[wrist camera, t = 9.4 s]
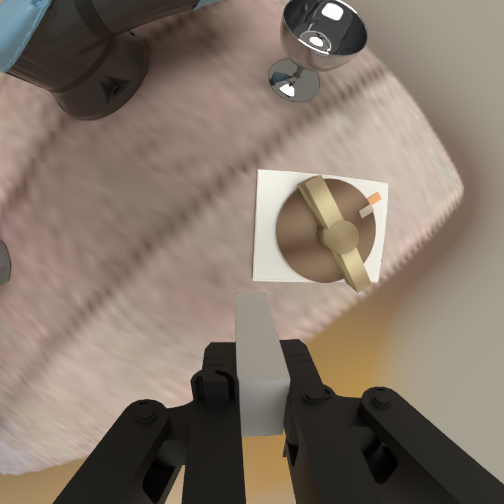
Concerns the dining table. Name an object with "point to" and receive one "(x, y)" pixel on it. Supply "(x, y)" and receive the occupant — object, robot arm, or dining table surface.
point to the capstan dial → (327, 231)
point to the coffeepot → (4, 264)
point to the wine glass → (314, 45)
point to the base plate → (267, 210)
